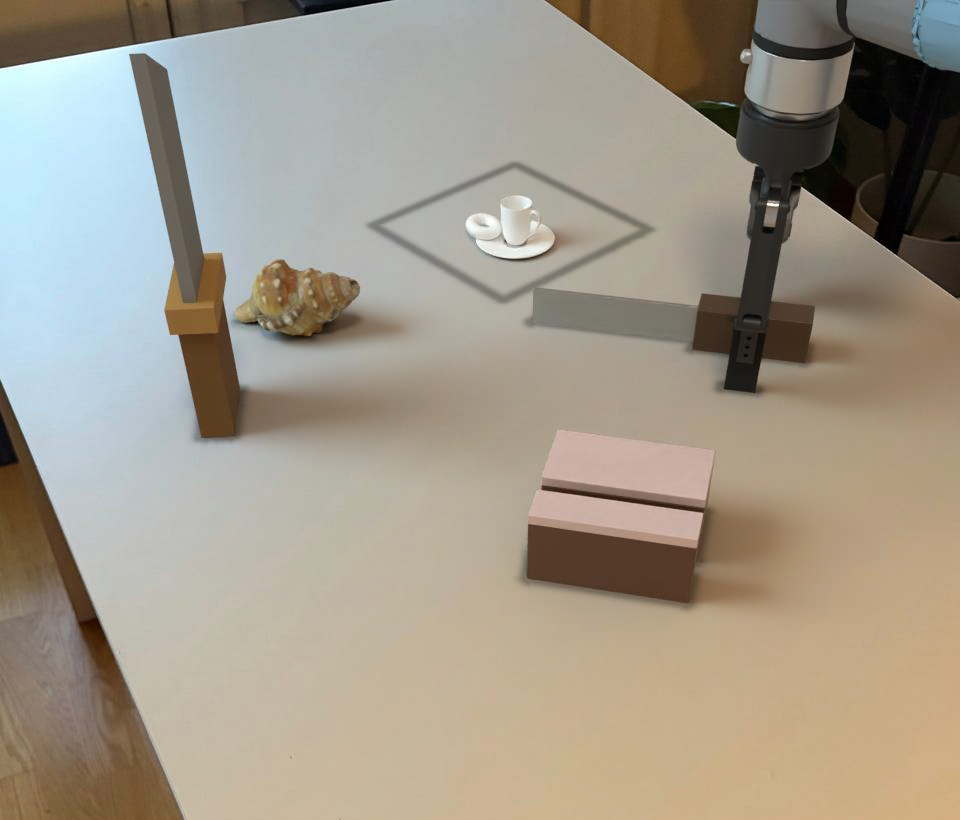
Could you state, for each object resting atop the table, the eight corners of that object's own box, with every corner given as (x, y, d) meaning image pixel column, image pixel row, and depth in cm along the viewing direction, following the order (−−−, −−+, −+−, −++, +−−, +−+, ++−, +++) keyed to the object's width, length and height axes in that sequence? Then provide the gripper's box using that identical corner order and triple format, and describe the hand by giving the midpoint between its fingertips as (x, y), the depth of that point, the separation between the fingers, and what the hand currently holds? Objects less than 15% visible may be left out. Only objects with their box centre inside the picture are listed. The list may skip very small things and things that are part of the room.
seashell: (331, 327, 119) (369, 251, 111) (319, 386, 115) (357, 311, 107) (241, 287, 116) (273, 206, 108) (224, 346, 112) (256, 266, 104)
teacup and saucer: (454, 239, 123) (453, 199, 120) (512, 213, 127) (512, 173, 124) (512, 271, 119) (513, 231, 116) (571, 243, 122) (572, 204, 119)
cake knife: (806, 346, 110) (815, 305, 107) (804, 364, 108) (813, 323, 105) (536, 314, 114) (537, 274, 111) (529, 331, 112) (530, 291, 109)
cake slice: (693, 576, 90) (703, 512, 86) (688, 603, 88) (698, 540, 84) (535, 552, 92) (536, 489, 88) (526, 578, 90) (527, 515, 86)
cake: (705, 513, 95) (716, 449, 90) (696, 563, 91) (706, 499, 87) (555, 492, 97) (557, 428, 92) (539, 540, 93) (541, 476, 89)
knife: (239, 443, 102) (163, 57, 79) (195, 445, 102) (106, 60, 79) (246, 385, 107) (177, 9, 84) (204, 387, 107) (123, 11, 84)
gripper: (758, 34, 102) (721, 271, 118) (724, 169, 86) (687, 420, 103) (849, 41, 101) (800, 280, 117) (831, 180, 85) (777, 432, 101)
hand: (747, 346), depth 110 cm, fingers open, 13 cm apart
